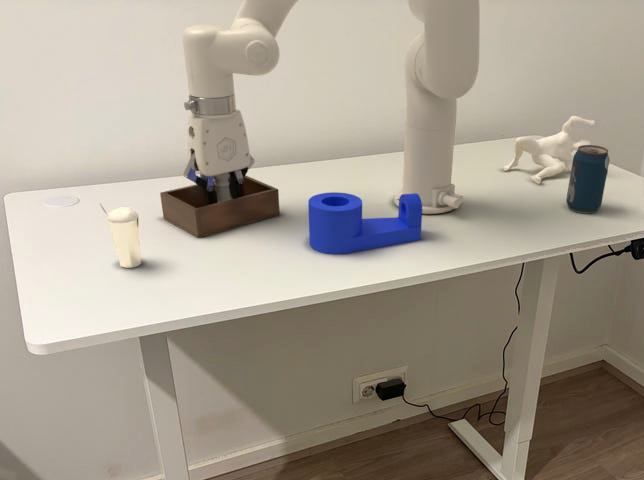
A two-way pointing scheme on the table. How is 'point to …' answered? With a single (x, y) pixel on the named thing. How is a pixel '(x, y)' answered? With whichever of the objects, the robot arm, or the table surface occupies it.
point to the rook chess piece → (222, 187)
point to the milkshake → (125, 235)
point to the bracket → (359, 224)
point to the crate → (219, 208)
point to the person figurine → (550, 150)
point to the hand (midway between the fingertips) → (224, 205)
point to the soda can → (587, 179)
